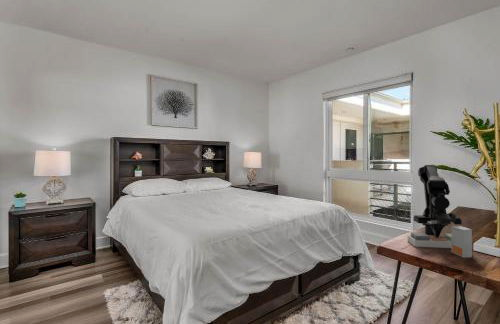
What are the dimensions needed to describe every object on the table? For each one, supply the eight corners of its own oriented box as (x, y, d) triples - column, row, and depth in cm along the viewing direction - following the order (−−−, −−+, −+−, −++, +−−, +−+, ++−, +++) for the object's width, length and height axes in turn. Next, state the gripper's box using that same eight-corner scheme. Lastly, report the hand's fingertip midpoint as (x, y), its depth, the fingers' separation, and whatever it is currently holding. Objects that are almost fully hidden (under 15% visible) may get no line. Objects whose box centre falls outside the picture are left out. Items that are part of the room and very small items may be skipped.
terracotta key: (427, 240, 128) (427, 235, 128) (440, 240, 127) (440, 235, 127) (433, 244, 122) (433, 238, 122) (447, 244, 121) (447, 239, 121)
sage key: (443, 238, 127) (443, 233, 127) (457, 239, 126) (457, 233, 126) (450, 242, 121) (450, 237, 121) (465, 243, 120) (465, 237, 120)
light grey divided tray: (407, 240, 131) (407, 235, 131) (458, 243, 127) (458, 237, 127) (414, 246, 123) (414, 240, 123) (469, 248, 119) (469, 242, 119)
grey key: (410, 237, 130) (410, 232, 130) (424, 237, 129) (424, 232, 129) (416, 241, 124) (416, 235, 124) (430, 241, 123) (430, 236, 123)
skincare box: (450, 252, 115) (450, 225, 114) (459, 252, 115) (459, 225, 115) (463, 257, 109) (463, 229, 108) (472, 257, 109) (472, 229, 109)
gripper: (423, 208, 118) (423, 241, 119) (469, 209, 115) (469, 243, 115) (412, 203, 129) (413, 234, 130) (454, 204, 126) (454, 236, 126)
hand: (437, 237), depth 125 cm, fingers closed, pressing on terracotta key
